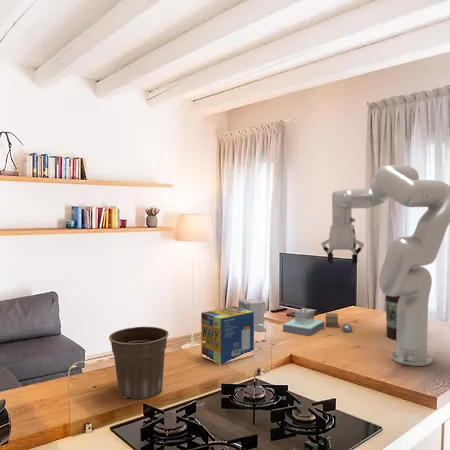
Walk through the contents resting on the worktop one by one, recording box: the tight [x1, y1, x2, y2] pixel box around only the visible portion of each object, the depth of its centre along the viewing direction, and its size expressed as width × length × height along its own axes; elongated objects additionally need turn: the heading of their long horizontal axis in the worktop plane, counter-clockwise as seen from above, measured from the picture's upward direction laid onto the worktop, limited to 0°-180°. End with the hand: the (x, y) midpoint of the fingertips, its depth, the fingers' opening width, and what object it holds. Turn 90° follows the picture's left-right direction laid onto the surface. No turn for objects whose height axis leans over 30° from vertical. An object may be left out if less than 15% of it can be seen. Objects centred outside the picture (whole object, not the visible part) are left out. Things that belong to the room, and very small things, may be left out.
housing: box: [294, 307, 315, 326], centre depth 189 cm, size 5×8×6 cm, turn 145°
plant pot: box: [108, 326, 169, 400], centre depth 127 cm, size 16×16×16 cm
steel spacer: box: [341, 323, 354, 333], centre depth 187 cm, size 4×4×2 cm
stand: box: [282, 318, 325, 337], centre depth 189 cm, size 14×12×3 cm
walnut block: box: [325, 312, 339, 329], centre depth 195 cm, size 5×5×5 cm
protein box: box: [200, 305, 255, 365], centre depth 156 cm, size 10×15×16 cm
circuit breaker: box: [238, 298, 267, 333], centre depth 175 cm, size 8×14×15 cm, turn 111°
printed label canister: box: [385, 294, 400, 341], centre depth 178 cm, size 11×11×25 cm
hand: (342, 263), depth 183 cm, fingers open, 9 cm apart
